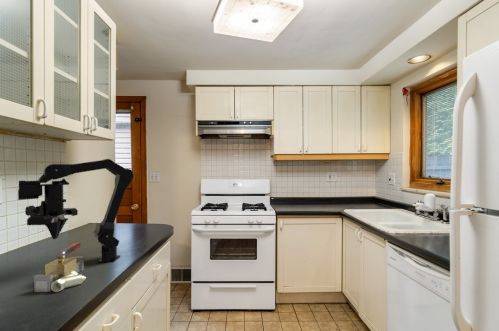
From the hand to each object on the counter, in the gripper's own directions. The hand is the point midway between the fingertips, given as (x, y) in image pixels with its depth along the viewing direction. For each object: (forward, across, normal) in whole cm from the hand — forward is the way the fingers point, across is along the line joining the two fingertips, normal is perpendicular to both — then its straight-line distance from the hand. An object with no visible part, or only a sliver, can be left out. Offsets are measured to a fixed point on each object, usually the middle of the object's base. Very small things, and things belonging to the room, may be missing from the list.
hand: (54, 238), depth 100 cm
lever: (+4, +2, +7) cm, 8 cm away
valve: (+12, +7, +7) cm, 16 cm away
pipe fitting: (+13, +12, +14) cm, 22 cm away
